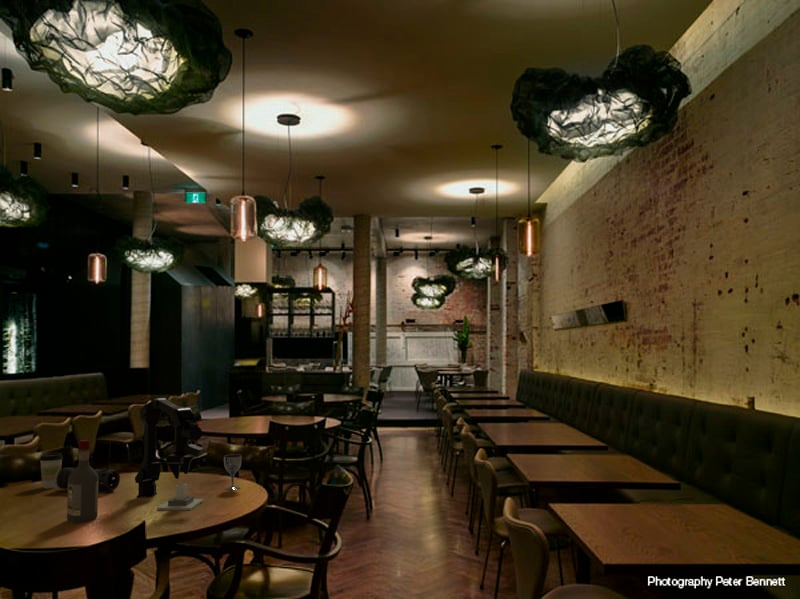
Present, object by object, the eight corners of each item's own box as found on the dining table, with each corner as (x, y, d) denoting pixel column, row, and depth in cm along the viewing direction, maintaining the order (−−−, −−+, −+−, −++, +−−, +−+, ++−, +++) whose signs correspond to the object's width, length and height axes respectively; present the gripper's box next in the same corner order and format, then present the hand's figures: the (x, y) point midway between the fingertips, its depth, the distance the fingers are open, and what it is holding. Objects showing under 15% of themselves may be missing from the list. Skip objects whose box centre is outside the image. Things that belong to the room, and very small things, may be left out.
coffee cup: (33, 488, 288) (34, 456, 289) (50, 483, 297) (51, 452, 298) (50, 489, 285) (51, 457, 286) (67, 485, 295) (68, 453, 296)
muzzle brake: (106, 495, 275) (107, 471, 276) (52, 492, 280) (52, 469, 281) (120, 490, 284) (120, 467, 285) (67, 487, 290) (68, 465, 290)
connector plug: (175, 504, 254) (175, 483, 255) (178, 502, 258) (179, 481, 258) (183, 504, 254) (183, 483, 255) (186, 502, 258) (187, 481, 258)
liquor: (89, 515, 243) (91, 438, 245) (99, 519, 237) (101, 440, 239) (64, 520, 236) (66, 440, 238) (75, 524, 230) (77, 443, 232)
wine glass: (230, 491, 280) (231, 458, 281) (219, 489, 284) (220, 456, 285) (244, 488, 286) (245, 455, 287) (234, 485, 291) (234, 453, 292)
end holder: (157, 510, 249) (157, 502, 249) (171, 501, 263) (171, 494, 263) (191, 510, 248) (191, 502, 249) (203, 501, 262) (203, 494, 263)
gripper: (192, 442, 248) (191, 481, 247) (209, 435, 267) (208, 471, 266) (165, 442, 249) (164, 481, 248) (183, 435, 267) (183, 471, 266)
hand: (181, 476), depth 257 cm, fingers open, 9 cm apart
